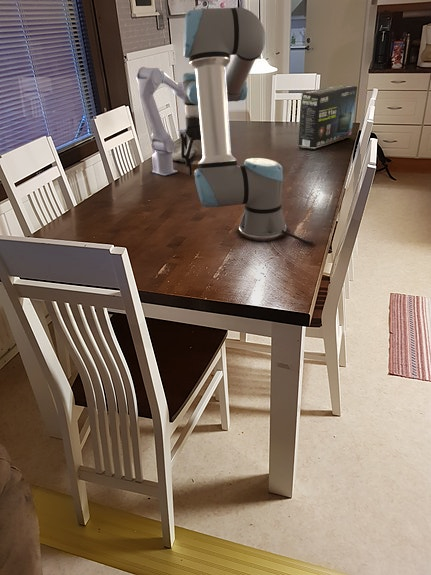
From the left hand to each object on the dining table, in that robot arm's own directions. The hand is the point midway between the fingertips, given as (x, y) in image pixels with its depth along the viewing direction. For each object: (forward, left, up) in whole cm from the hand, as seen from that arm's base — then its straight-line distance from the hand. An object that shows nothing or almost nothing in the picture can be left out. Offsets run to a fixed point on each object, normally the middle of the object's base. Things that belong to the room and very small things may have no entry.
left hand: (194, 149), depth 218 cm
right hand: (+24, -20, -2) cm, 31 cm away
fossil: (-13, 0, -7) cm, 14 cm away
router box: (+27, +69, -7) cm, 75 cm away
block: (+24, -20, -3) cm, 31 cm away
